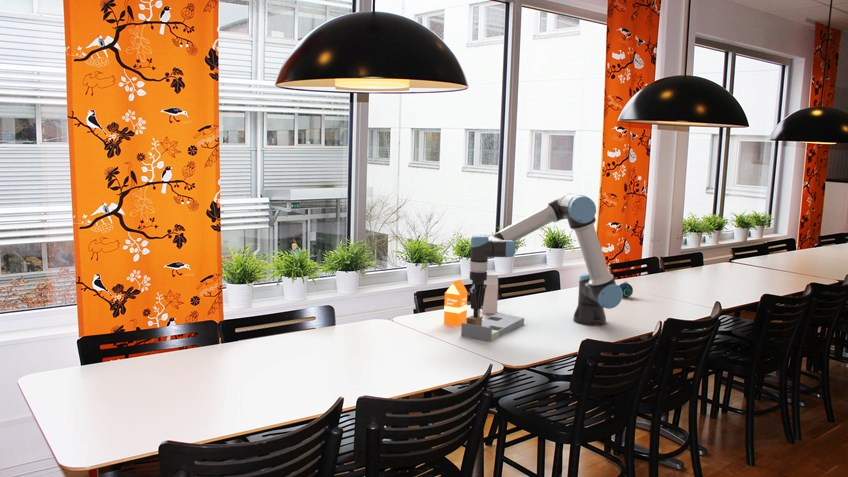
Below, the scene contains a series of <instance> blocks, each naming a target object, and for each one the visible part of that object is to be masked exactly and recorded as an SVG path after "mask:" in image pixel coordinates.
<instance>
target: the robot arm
mask: <svg viewBox="0 0 848 477" xmlns="http://www.w3.org/2000/svg"><path fill="white" fill-rule="evenodd" d="M596 214H597V206H596V204H595V202H594V201H593V200H592V199H591V198H590V197H589V196H586V195H583V194H575V193H565V194H563V195H560V196H558V197H556V198H554V199H553V200H550V201H549V202H548V203H545V205H544V207H543V208H540V209H538V210H537V211H534V212H533V213H531V214H529V215H527V216H526V217H523V218H522V219H520V220H518V221H516V222H514V223H513V224H510V225H508V226H506V227H505V228H503V229H502V230H499V231H498V232H495V233H494V234H487V235H484V234H474V235H473V236H471V238H470V239H471V240H470V258H469V259H470V261H469V270H470V271H469V280H470V281H472V282H471V288H468V292H469V301H470V302H469V303H470V310H473V314H472V316H474V317H481V310H482V309H483V303H484V297H485V290H486V287H487V285H485V284H484V281H485V280H487V275H488V272H487V271H488V262H489V258H505V259H506V258H512V257H514V256H515V253H516V242H517V241H518V240H521V239H523V238H524V237H526V236H528V235H530V234H531V233H534V232H536V231H538V230H539V229H541V228H543V227H545V226H547V225H549V224H551V223H557V222H560V221H562V220H567V222H568V225H569V227H570V228H569V229H571V230H573V231H574V233H575V235H576V238H577V242H578V245H579V247H580V252H581V254H582V256H583V260H584V264H585V266H586V269H587V273H584V274H581V275H580V276H579V281H578V298H577V301H578V303H577V307H576V309H575V312H574V314H573V322H575V323H578V324H581V325H585V326H586V325H587V326H603V325H605V324H606V323H607V317H606V313H605V309H607V310H608V309H610V310H611V309H614V308H616V307H617V306H619V304H621V301H622V300H623V292H622V289H621V288H620V287H619V285H618V284H617V283H616V280H615V277H614V274H612V273H610V272H609V270H608V267H607V263H606V260H605V256H604V253H603V251H602V247H601V244H600V241H599V237H598V234H597V231H596V228H595V223H596V221H597V220H596Z"/></svg>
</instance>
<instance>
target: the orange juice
mask: <svg viewBox="0 0 848 477" xmlns="http://www.w3.org/2000/svg"><path fill="white" fill-rule="evenodd" d="M443 308H444V309H443V310H444V311H443V316H444V318H443V324H444V325H451V326H456V327H459V326H462V323H466V318H468V316H467V315H468V313H467V311H468V291H467V288H466V287H465V285H464V283H463V281H462V280H461V279H457V280H455V281H452V283H451V285H450V286H449V287H448V288H447V290H446V291H445V292H444V307H443Z"/></svg>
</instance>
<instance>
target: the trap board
mask: <svg viewBox="0 0 848 477" xmlns="http://www.w3.org/2000/svg"><path fill="white" fill-rule="evenodd" d="M524 323H525V317H523V316H516V315H512V314H511V315H510V314H504V313H498V312H497V313H496V314H492V315H490V316H488V317H486V318H482V326H480V325H474V324H468V323H466V322H465V323H462V325H461V330H460V331H461V333H460V335H461V336H460V337H462V338H463V337H464V338H468V339H473V340H478V341H483V342H488V343H491V342H493V341H495V340H497V339H499V338H501V337H502V336H504V335H506V334H507V333H510V332H511V331H513V330H515V329H517V328H519V327H521V326H523V325H524Z"/></svg>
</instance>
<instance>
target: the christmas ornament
mask: <svg viewBox="0 0 848 477" xmlns="http://www.w3.org/2000/svg"><path fill="white" fill-rule="evenodd" d="M618 286H619V287H620V288H621V289H622V292H623V297H622V299H623V298H624V299H628V298H630V297H632V295H633V292H634V289H633V286H632V285H631V284H630V283H628V280H624V281H623V282H622V283H620V284H619V285H618Z"/></svg>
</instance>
